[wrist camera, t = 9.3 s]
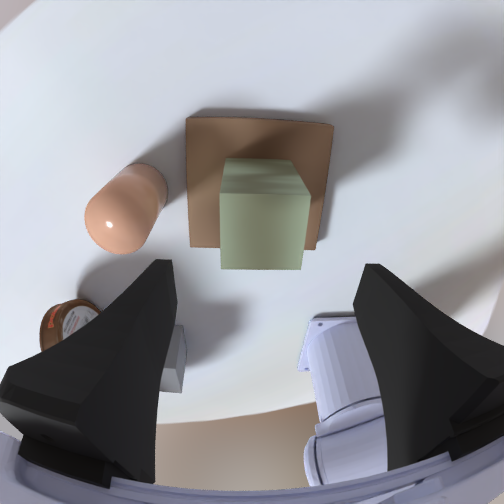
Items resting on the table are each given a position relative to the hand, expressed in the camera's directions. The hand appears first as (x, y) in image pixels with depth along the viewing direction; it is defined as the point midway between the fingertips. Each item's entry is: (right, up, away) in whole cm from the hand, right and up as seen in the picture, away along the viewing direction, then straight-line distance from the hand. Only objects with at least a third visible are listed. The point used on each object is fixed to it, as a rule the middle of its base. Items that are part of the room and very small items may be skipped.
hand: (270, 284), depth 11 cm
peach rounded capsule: (-8, +5, +9) cm, 13 cm away
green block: (0, +5, +8) cm, 10 cm away
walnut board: (0, +6, +9) cm, 10 cm away
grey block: (-9, -7, +17) cm, 20 cm away
